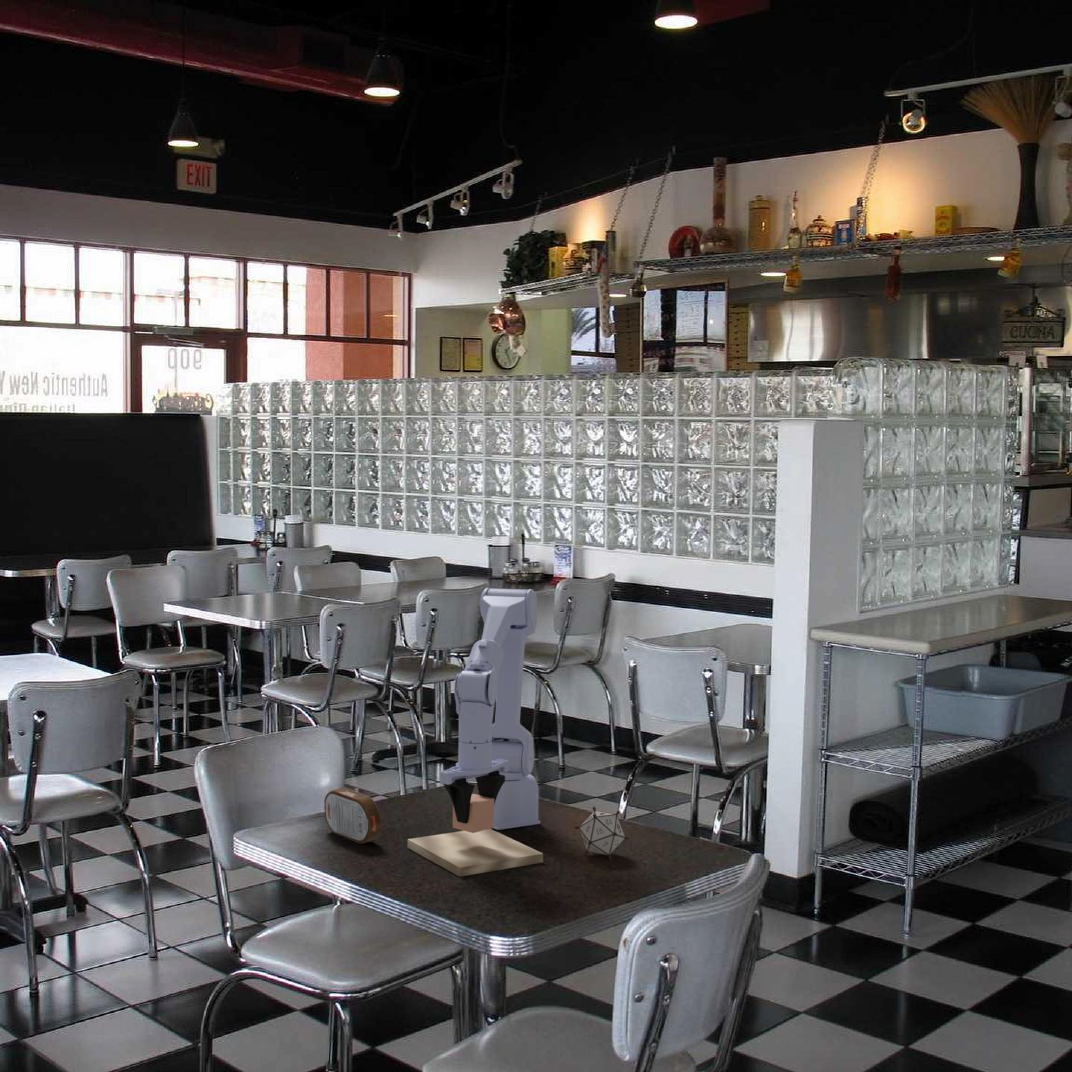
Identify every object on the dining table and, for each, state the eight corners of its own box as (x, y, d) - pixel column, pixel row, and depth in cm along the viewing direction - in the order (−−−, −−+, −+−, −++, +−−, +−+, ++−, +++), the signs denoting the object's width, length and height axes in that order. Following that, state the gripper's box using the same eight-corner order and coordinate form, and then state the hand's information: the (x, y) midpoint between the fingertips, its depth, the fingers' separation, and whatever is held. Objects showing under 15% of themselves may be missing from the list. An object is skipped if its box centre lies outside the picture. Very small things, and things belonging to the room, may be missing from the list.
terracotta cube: (473, 822, 228) (473, 793, 228) (493, 827, 225) (494, 798, 224) (452, 827, 224) (452, 798, 224) (472, 833, 221) (473, 803, 221)
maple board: (487, 835, 237) (487, 827, 237) (542, 862, 221) (543, 853, 221) (407, 847, 228) (407, 839, 228) (459, 876, 212) (459, 867, 212)
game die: (591, 874, 227) (574, 820, 232) (638, 858, 226) (620, 804, 231) (582, 862, 219) (565, 807, 224) (630, 845, 219) (612, 790, 224)
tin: (382, 846, 230) (383, 798, 229) (367, 849, 228) (368, 801, 227) (335, 828, 241) (335, 782, 240) (320, 831, 239) (321, 785, 238)
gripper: (488, 731, 232) (488, 807, 232) (427, 742, 221) (427, 822, 222) (517, 737, 227) (516, 814, 227) (456, 749, 216) (455, 830, 217)
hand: (474, 819), depth 224 cm, fingers closed on terracotta cube, 5 cm apart
